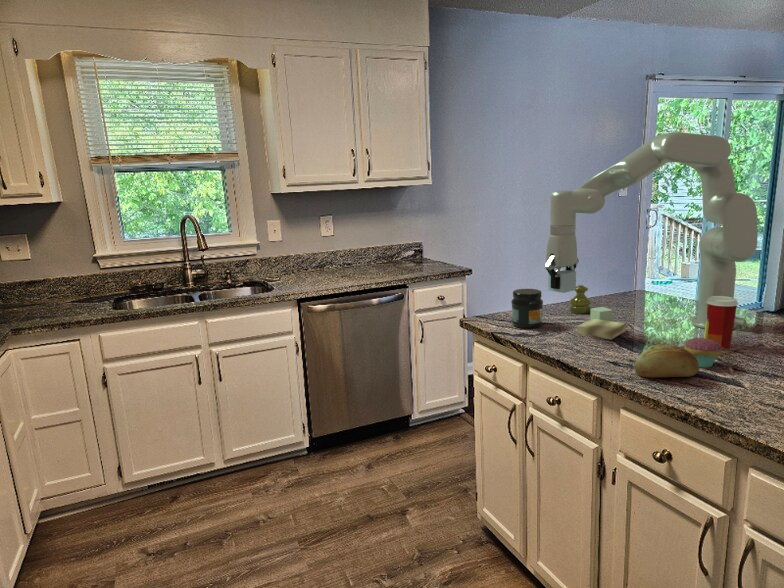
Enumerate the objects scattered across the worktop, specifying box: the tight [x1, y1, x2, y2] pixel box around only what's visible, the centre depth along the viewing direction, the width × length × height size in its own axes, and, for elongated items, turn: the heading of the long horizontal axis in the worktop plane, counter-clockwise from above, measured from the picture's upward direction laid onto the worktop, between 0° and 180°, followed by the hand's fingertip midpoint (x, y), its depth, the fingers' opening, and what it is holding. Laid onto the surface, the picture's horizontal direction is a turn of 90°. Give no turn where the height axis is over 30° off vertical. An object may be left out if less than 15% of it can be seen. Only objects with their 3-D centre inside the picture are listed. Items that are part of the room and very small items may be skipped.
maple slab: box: [576, 318, 627, 340], centre depth 165 cm, size 11×11×3 cm
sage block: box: [589, 306, 614, 321], centre depth 174 cm, size 5×5×5 cm
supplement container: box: [510, 288, 544, 329], centre depth 176 cm, size 10×10×12 cm
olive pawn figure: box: [569, 284, 592, 315], centre depth 190 cm, size 7×7×10 cm
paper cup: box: [706, 296, 739, 350], centre depth 145 cm, size 8×8×14 cm
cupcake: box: [684, 319, 723, 368], centre depth 133 cm, size 9×8×12 cm
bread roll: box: [634, 344, 700, 379], centre depth 127 cm, size 10×15×8 cm, turn 84°
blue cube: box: [547, 269, 577, 294], centre depth 164 cm, size 6×6×6 cm
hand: (562, 286), depth 164 cm, fingers closed on blue cube, 6 cm apart
